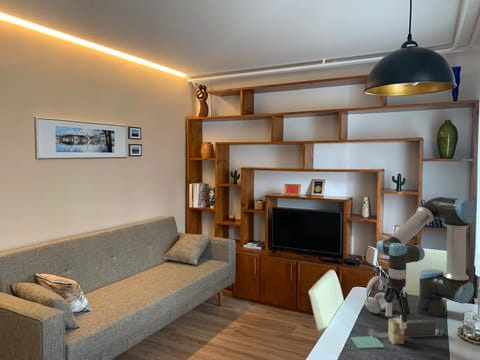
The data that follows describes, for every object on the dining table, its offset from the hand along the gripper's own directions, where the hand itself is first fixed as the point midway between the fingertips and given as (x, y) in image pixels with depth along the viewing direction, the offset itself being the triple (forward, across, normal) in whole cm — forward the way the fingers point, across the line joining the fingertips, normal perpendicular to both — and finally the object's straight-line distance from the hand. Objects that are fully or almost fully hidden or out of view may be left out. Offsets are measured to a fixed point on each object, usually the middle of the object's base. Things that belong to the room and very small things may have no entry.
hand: (395, 322), depth 176 cm
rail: (+9, -6, +8) cm, 14 cm away
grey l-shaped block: (+9, -9, +15) cm, 19 cm away
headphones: (+9, -34, +6) cm, 36 cm away
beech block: (+9, 0, 0) cm, 9 cm away
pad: (+10, 0, -14) cm, 17 cm away
